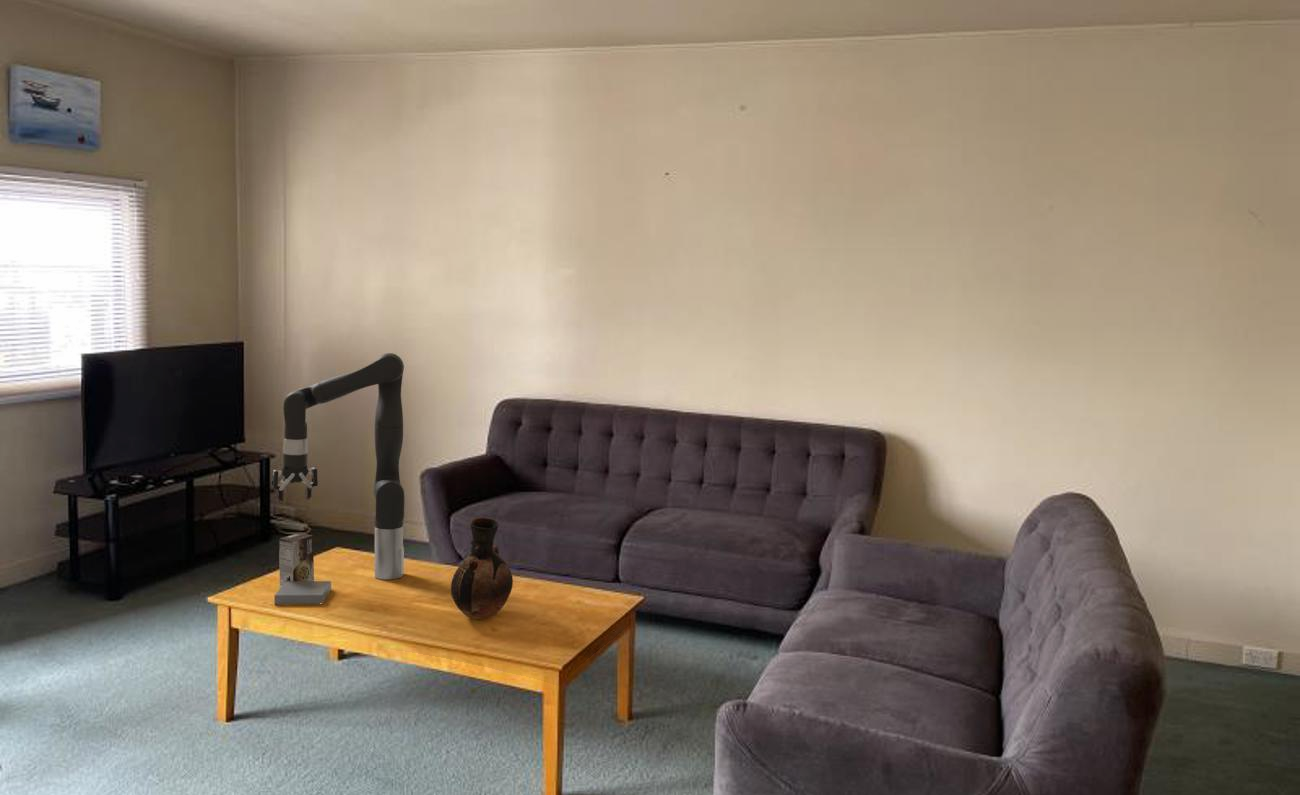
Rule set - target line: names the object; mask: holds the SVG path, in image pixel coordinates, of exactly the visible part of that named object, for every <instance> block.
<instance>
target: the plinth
mask: <svg viewBox="0 0 1300 795" xmlns="http://www.w3.org/2000/svg"><path fill="white" fill-rule="evenodd" d="M330 590H331V591H332V581H331V580H329V581H328V580H319V581H318V580H314V581H286V582H285V583H284V584H283V585H282V587H280V588H278V590H277V592H276V593H274V595H273V596H274V597H273V598H274V605H275V604H315V605H321V604H320V603H322V602H323V601H324V599H325V598H326V599H327V597H328V596H329V594H330V593H331V591H330ZM329 592H330V593H329ZM328 593H329V594H328ZM327 595H328V596H327ZM326 596H327V597H326ZM326 599H325V600H326ZM324 602H325V601H324ZM324 602H323V603H324Z"/></svg>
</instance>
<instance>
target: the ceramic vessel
mask: <svg viewBox="0 0 1300 795" xmlns="http://www.w3.org/2000/svg"><path fill="white" fill-rule="evenodd" d="M469 524H470V531H471V534H472V540H471V542H470V544H471V547H470V548H471V549H470V555H469V556H468V557H466V558H465V559H464V560H463V561H462V562H461V564H460V565H459V566H458V567H457V569H456V570H455V572H454V574H453V577H452V579H451V583H450V593H451V597H452V600H453V602H454V604H455V606H456V607H457V608H458V610H459V611H460V612H461V613H462V614H463V615H465V617H467V618H468V619H471V620H474V621H475V620H482V619H487V618H491V617H493V616H495V615H497V614H498V613H499V612H500V611H501V609H502V608H503V607H504V606H505V604H506V603H507V601H508V599H509V598H510V595H511V592H512V590H513V585H514V581H513V580H514V578H513V574H512V571H511V569H510V567H509V565H508V563H507V562H506V561H505V559H503V558H502V557H501V556H500V554H499V547H498V546H497V545H494V540H495V537H496V534H497V531H498V529H499V523H498V522H497V521H496V520H495V519H493V518H489V517H477V518H475V517H474V518H473V519H472V520H470V523H469Z"/></svg>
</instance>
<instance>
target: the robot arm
mask: <svg viewBox="0 0 1300 795" xmlns="http://www.w3.org/2000/svg"><path fill="white" fill-rule="evenodd" d="M404 370H405V364H404V362H403V359H402V358H401V357H400V356H398V355H397V354H396V353H391V352H390V353H389V352H388V353H384V354H382V355H380V356H379V357H378V358H377V359H376V360H375V361H373V362H371V363H369V364H367V365H366V366H363V367H361V368H358V369H356V370H353V371H350V372H347V373H343V374H339V375H336V376H333V377H329V378H327V379H323V380H321V381H319V382H316V383H315V384H312V385H310V386H305V387H302V388H299V389H295V390H294V391H291V392H289V393H288V394H287V395H286V396H285V398H284V400H283V405H282V407H283V419H284V433H283V434H284V438H283V443H282V444H283V445H282V446H283V447H282V469H281V470H277V469H273V470H272V474H271V483H270V484H271V485H270V486H271V488H272V489H274V490H277V491H276V495H277V496H276V498H277V500H278V501H279V502H280V503H281V502H284V489H285V487H286V486H287V485H288V484H289V483H290V484H295V483H301V482H302V483H303V484H304V485H305V486H306V487H305V491H304V492H305V493H304V494H305V497H304V498H305V500H310V498H311V497H312V489H313V488H314V487H318V468H316V467H311V468H308V453H309V452H308V449H309V448H308V446H309V445H308V423H307V421H306V418H307V416H306V413H307V412H306V410H307V409H309V408H313V407H315V406H317V405H323V404H326V403H329V402H331V401H334V400H337V399H339V398H342V397H345V396H348V395H349V394H352V393H354V392H357V391H360V390H361V389H364V388H368V387H371V386H376V385H378V386H377V387H378V397H377V404H376V409H375V410H376V411H375V416H374V417H375V418H374V448H375V457H376V458H375V459H376V468H375V469H376V470H375V480H374V486H373V495H374V497H375V517H374V578H376V579H378V580H397V579H402V578H403V576H404V573H405V567H404V566H405V563H404V561H405V554H404V553H405V547H404V519H405V490H404V488H403V486H402V484H401V478H400V458H401V452H402V447H403V443H404V442H403V441H404V439H403V438H404V415H403V403H402V385H403V383H402V382H403V376H404ZM308 474H310V476H311V482H310V481H309V480H308V479H307V478H306V477H307V475H308ZM281 475H282V476H283V478H282V479H281V480H280V481H279V478H280V477H281ZM278 482H279V483H278Z"/></svg>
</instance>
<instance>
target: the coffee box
mask: <svg viewBox="0 0 1300 795" xmlns="http://www.w3.org/2000/svg"><path fill="white" fill-rule="evenodd" d="M278 550H279V551H278V555H279V556H278V557H279V558H278V560H279V563H278V564H279V566H278V567H279V587H280V586H282V585H283V584H284V583H285V582H286V581H315V571H314V570H315V567H314V566H315V565H314V562H315V561H314V535H313V534H308V533H305V532H304V533H303V532H296V533H294V534H290V535H287V536H283V537H280V538H278Z"/></svg>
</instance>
